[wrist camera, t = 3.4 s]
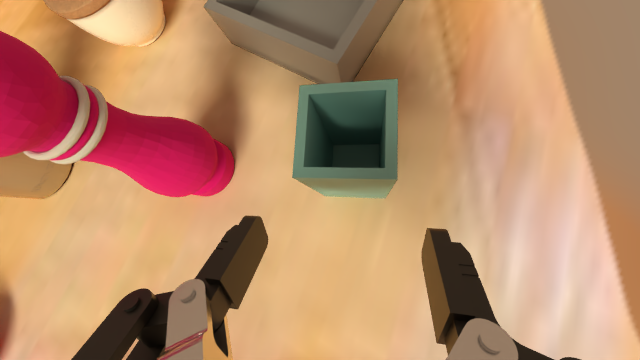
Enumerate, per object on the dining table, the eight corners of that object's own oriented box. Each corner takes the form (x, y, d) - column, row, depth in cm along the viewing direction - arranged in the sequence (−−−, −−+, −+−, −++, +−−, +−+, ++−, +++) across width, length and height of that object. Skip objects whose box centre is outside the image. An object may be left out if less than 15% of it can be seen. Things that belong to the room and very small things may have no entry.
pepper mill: (203, 127, 27) (-213, -106, 8) (251, 154, 25) (-147, -67, 6) (171, 181, 27) (-350, 77, 7) (216, 213, 25) (-328, 185, 5)
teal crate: (325, 196, 23) (292, 177, 13) (328, 141, 23) (299, 85, 14) (385, 198, 21) (397, 179, 12) (385, 140, 22) (397, 78, 13)
